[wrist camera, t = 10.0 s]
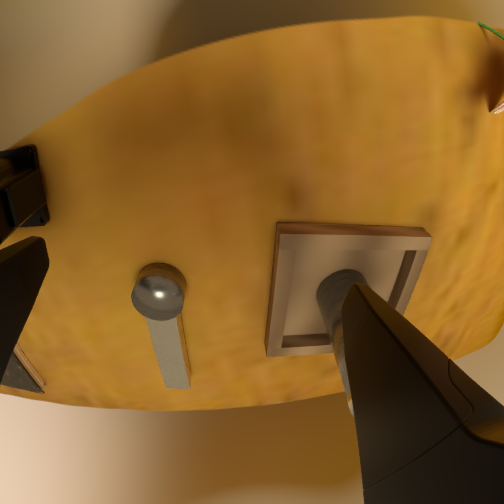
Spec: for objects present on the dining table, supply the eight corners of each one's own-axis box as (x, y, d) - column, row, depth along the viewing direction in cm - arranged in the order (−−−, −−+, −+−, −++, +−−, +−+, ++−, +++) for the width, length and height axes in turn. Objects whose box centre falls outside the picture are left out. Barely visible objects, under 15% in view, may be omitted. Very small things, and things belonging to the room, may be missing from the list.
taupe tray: (264, 338, 29) (266, 356, 27) (275, 219, 22) (280, 233, 20) (380, 330, 30) (388, 346, 28) (418, 224, 23) (432, 237, 21)
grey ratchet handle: (198, 373, 30) (197, 390, 28) (161, 372, 30) (158, 389, 28) (183, 263, 23) (180, 280, 21) (134, 262, 23) (126, 279, 21)
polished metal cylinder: (311, 313, 26) (342, 423, 17) (319, 269, 24) (363, 383, 15) (360, 310, 27) (403, 410, 17) (372, 268, 24) (431, 370, 15)
